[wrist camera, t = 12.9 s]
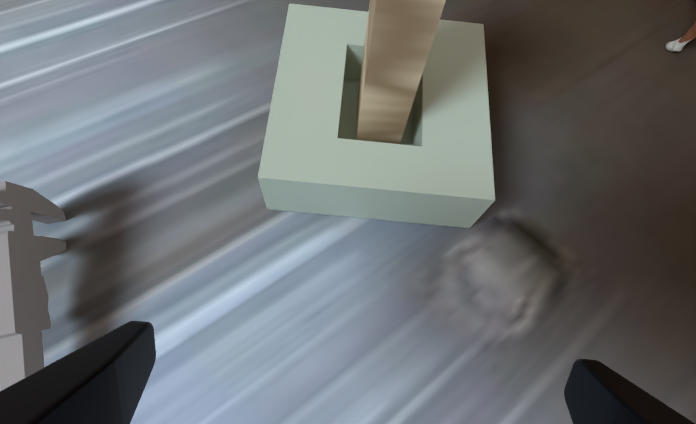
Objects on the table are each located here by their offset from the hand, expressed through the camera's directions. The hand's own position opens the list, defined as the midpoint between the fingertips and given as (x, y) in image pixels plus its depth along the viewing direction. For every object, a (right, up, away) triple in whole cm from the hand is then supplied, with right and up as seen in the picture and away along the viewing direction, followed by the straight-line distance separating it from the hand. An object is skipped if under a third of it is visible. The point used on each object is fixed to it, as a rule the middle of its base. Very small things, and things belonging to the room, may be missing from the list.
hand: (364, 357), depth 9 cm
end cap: (+1, +8, +18) cm, 20 cm away
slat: (+1, +9, +17) cm, 19 cm away
